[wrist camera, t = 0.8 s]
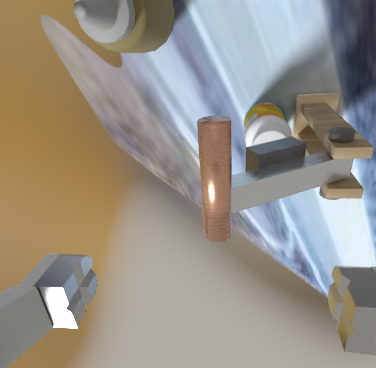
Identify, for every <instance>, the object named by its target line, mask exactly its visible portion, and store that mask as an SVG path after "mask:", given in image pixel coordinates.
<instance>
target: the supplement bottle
mask: <svg viewBox="0 0 376 368" xmlns="http://www.w3.org/2000/svg"><path fill="white" fill-rule="evenodd" d="M244 132H245V143H246V146H247V147H249V146H253V145H258V144H262V143H266V142H270V141H274V140H279V139H283V138H287V137H291V136H292V134H291V129H290V127H289V125H288V123H287V121H286V119H285V117H284V115H283V113H282V111H281V110H280V108H279V107H277V106H276V105H274V104H272V103H266V102H265V103H259V104H257V105H255V106H253V107H252V108H251V109H250V110H249V111H248V112H247V114H246V116H245V119H244Z"/></svg>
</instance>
